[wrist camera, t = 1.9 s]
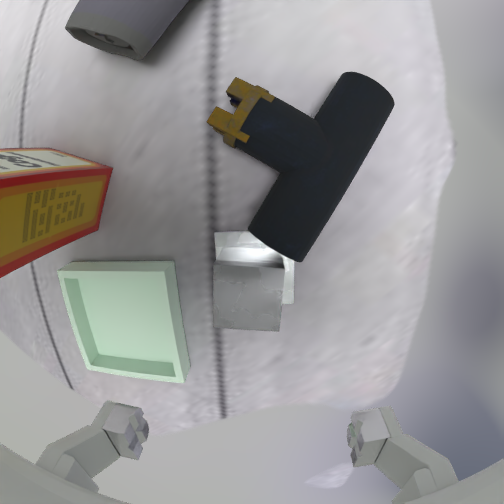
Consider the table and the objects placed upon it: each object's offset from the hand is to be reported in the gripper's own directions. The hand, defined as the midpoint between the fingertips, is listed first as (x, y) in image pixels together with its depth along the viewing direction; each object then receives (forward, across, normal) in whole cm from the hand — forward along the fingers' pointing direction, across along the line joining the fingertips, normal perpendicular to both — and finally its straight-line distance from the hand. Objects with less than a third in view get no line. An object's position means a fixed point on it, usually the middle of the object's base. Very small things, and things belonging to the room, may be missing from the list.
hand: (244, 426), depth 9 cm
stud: (+18, 0, 0) cm, 18 cm away
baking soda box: (+18, +19, -9) cm, 28 cm away
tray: (+18, +14, +6) cm, 24 cm away
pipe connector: (+18, -3, -11) cm, 21 cm away
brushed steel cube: (+17, +1, 0) cm, 17 cm away
